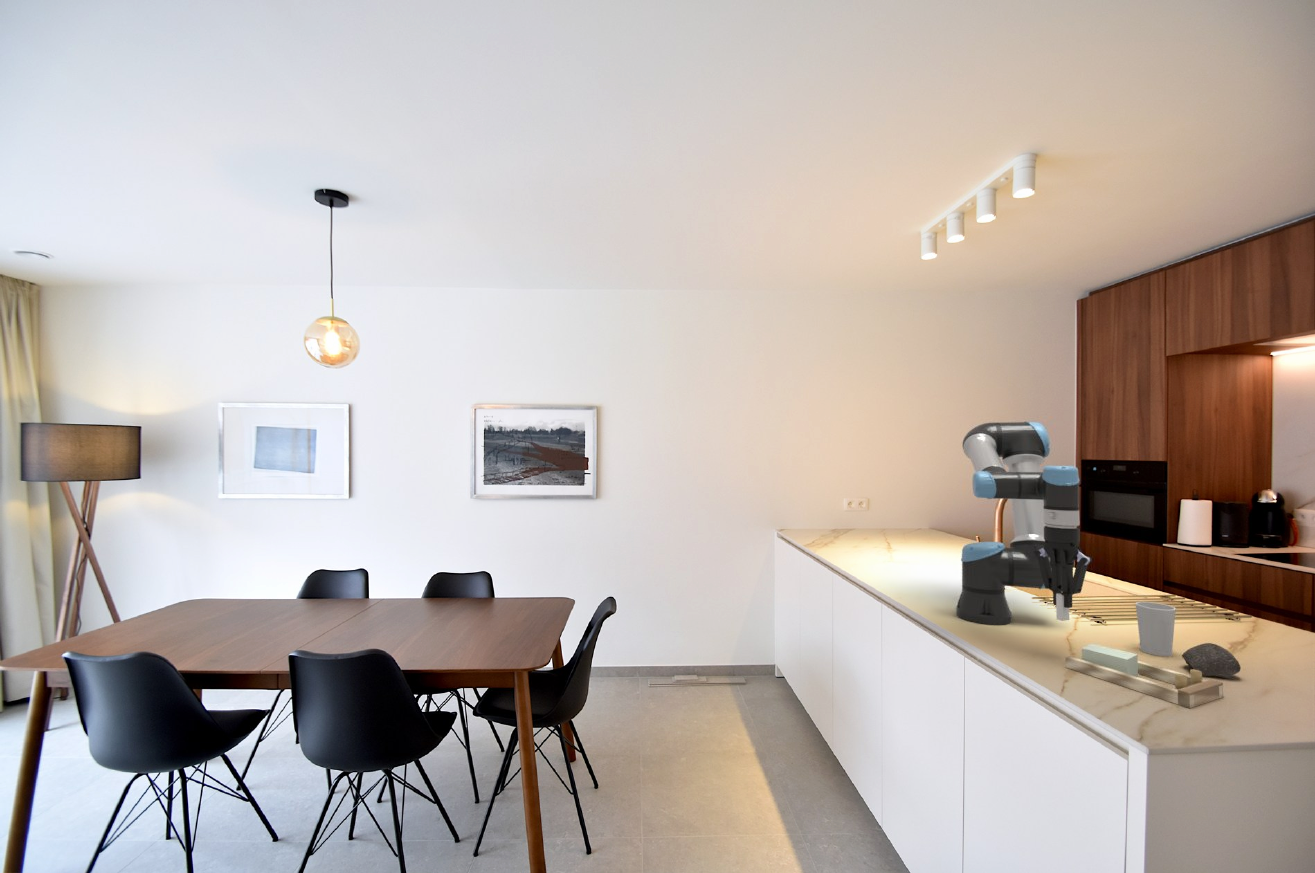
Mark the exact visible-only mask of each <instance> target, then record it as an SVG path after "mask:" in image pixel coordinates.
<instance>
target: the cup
mask: <svg viewBox="0 0 1315 873" xmlns="http://www.w3.org/2000/svg"><path fill="white" fill-rule="evenodd" d="M1135 609H1136V610H1135V611H1136V616H1137V617H1136V618H1137V626H1138V627H1137V628H1138V638H1139V650H1140V652H1142V653H1146V654H1147V655H1148V654H1149V655H1153V656H1157V657H1167V658H1168V657H1172V656H1173V643H1174V632H1175V621H1176V613H1177V612H1176V611H1177V609H1176V607H1175V606H1173V605H1169V604H1165V603H1159V602H1151V601H1137V602H1135Z"/></svg>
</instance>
